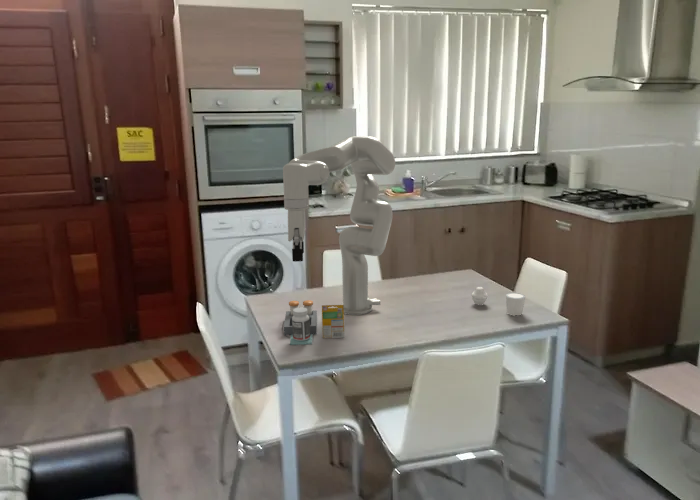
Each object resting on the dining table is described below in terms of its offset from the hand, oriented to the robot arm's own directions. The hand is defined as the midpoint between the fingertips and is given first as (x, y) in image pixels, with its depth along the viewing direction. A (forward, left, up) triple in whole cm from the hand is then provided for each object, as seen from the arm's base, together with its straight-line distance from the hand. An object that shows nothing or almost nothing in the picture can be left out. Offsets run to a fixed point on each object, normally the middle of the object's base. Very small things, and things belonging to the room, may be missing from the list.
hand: (298, 257), depth 177 cm
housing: (0, -12, -28) cm, 31 cm away
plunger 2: (-2, -17, -28) cm, 33 cm away
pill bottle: (0, 0, -28) cm, 28 cm away
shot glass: (-78, -19, -28) cm, 85 cm away
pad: (0, 0, -28) cm, 28 cm away
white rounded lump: (-68, -30, -28) cm, 79 cm away
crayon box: (-11, -2, -28) cm, 30 cm away
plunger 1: (+3, -17, -28) cm, 33 cm away
